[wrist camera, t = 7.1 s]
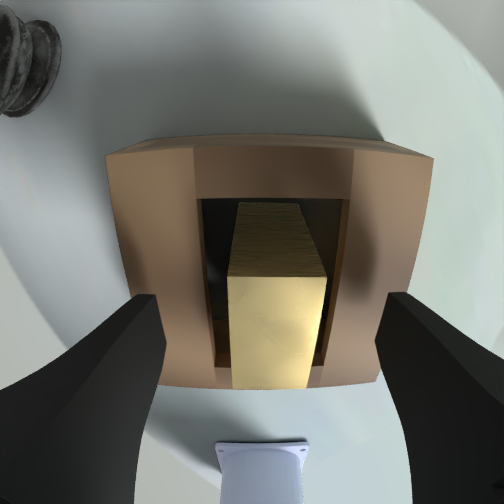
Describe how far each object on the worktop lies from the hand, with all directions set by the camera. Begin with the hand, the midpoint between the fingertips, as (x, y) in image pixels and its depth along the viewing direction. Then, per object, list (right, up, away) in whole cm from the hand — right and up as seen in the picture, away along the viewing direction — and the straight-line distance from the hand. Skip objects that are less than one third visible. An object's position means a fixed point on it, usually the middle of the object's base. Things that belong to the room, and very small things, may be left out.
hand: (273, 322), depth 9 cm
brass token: (0, +2, +5) cm, 5 cm away
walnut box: (0, +2, +5) cm, 5 cm away
